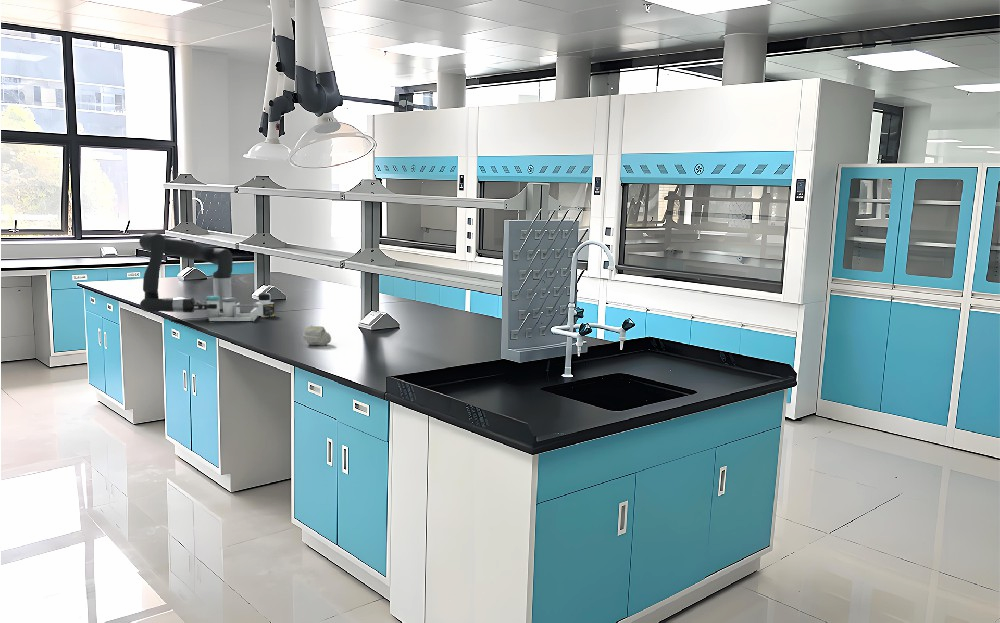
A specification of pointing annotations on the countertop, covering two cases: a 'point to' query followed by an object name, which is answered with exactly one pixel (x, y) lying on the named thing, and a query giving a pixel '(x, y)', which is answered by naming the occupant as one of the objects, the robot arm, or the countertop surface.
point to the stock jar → (228, 306)
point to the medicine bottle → (265, 305)
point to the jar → (213, 312)
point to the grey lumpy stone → (316, 335)
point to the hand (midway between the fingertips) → (218, 305)
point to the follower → (237, 308)
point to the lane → (243, 317)
